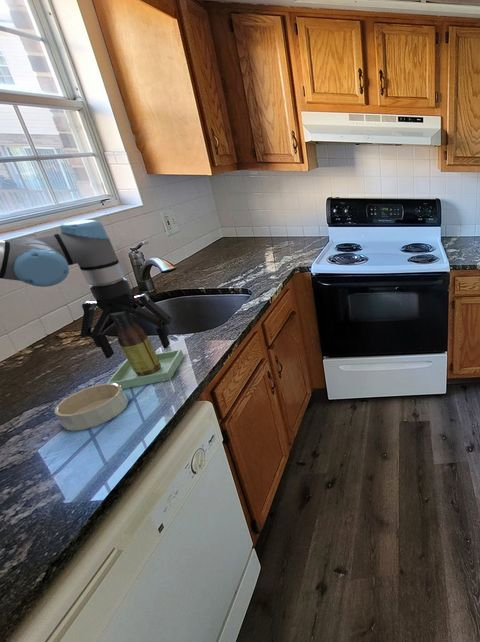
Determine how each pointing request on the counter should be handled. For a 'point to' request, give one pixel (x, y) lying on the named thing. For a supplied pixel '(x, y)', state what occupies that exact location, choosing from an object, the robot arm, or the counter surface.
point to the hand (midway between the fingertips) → (139, 351)
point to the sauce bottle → (135, 344)
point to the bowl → (91, 406)
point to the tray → (166, 371)
